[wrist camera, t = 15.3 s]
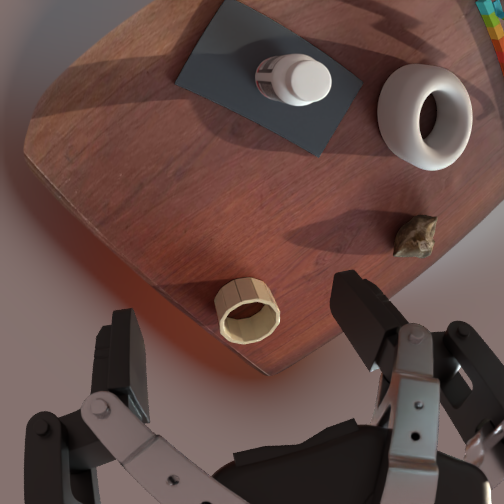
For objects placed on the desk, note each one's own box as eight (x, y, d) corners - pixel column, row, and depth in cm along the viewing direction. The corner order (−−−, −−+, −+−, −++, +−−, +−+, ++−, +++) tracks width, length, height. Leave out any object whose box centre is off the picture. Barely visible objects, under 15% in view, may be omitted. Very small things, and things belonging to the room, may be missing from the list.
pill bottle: (299, 99, 34) (338, 110, 26) (254, 101, 34) (283, 110, 25) (298, 56, 32) (338, 54, 24) (253, 56, 31) (281, 51, 23)
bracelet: (205, 314, 49) (209, 337, 45) (230, 270, 46) (237, 292, 42) (253, 326, 53) (260, 348, 49) (280, 286, 50) (291, 307, 45)
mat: (174, 83, 31) (174, 84, 30) (226, -3, 27) (227, -4, 26) (317, 156, 40) (318, 157, 39) (361, 82, 35) (364, 82, 35)
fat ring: (453, 81, 37) (484, 88, 32) (434, 166, 45) (462, 181, 39) (383, 49, 33) (415, 50, 28) (363, 150, 41) (391, 165, 35)
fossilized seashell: (437, 202, 46) (386, 221, 47) (455, 237, 43) (403, 259, 44) (427, 221, 52) (381, 239, 54) (442, 253, 50) (395, 273, 51)
